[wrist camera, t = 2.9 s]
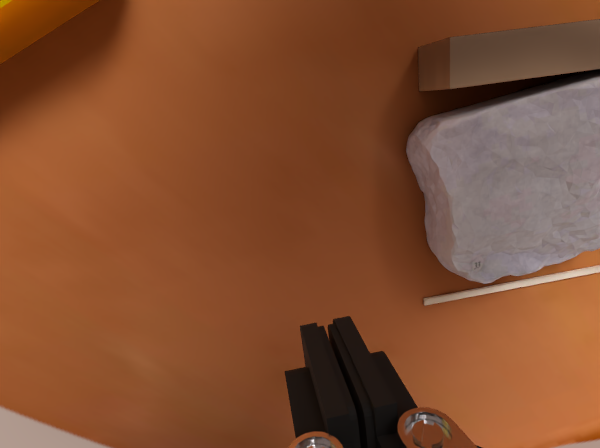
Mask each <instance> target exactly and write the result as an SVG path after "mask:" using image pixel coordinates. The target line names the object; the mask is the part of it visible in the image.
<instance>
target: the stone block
mask: <svg viewBox="0 0 600 448" xmlns="http://www.w3.org/2000/svg"><path fill="white" fill-rule="evenodd" d="M406 153H407V156H408V160H409V163H410V164H411V166H412V170H413V172H414V174H415V176H416V178H417V182H418V184H419V187H420V189H421V191H422V192H423V193H424V197H425V221H424V222H425V229H426V234H427V242H428V245H429V247H430V249H431V251H432V252H433V253H434V254H435V255H436V257H437V258H438V260H439V262H440V263H441V264H442V265H443V266H444V267H445V268H446V269H448V270H449V271H451V272H453V273H455V274H457V275H459V276H462V277H464V278H466V279H468V280H470V281H476V282H479V283H483V284H486V283H491V282H493V281H495V280H497V279H499V278H500V277H502V276H507V275H514V276H521V275H525V274H529V273H533V272H536V271H538V270H540V269H541V268H542V267H543V266H549V265H553V264H559V263H561V262H563V261H566V260H569V259H571V258H574V257H576V256H577V255H578V254H580V253H581V252H583V251H594V250H596V249H599V248H600V69H595V70H592V71H588V72H584V73H580V74H577V75H574V76H570V77H567V78H563V79H560V80H556V81H553V82H549V83H546V84H543V85H539V86H536V87H532V88H528V89H525V90H521V91H517V92H514V93H511V94H507V95H504V96H500V97H497V98H493V99H490V100H487V101H484V102H480V103H477V104H474V105H470V106H466V107H463V108H459V109H455V110H452V111H449V112H444V113H441V114H437V115H433V116H429V117H427V118H425V119H423V120H422V121H420V122H419V123H418V124H417V126H416V127H415V128H414V130H413V131H412V132H411V134H410V135H409V137H408V141H407V147H406Z"/></svg>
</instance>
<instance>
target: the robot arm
mask: <svg viewBox="0 0 600 448" xmlns="http://www.w3.org/2000/svg"><path fill="white" fill-rule="evenodd" d="M300 331H301V338H302V345H303V352H304V358H305V365H306V367H304V368H299V369H294V370H289V371H285V376H286V382H287V388H288V394H289V400H290V406H291V412H292V418H293V424H294V430H295V436H296V439H295V440H294V441H293V442H292V443H291V444H290V446H289V447H288V448H482V447H479V446H477V445H475V444H474V443H473V442H472V441H471V440H470V439H469V438H468V437H467V435H466V434H465V433H464V432H463V431H462V430H461V429H460V428H459V427H458V426H457V425H456V423H455V422H454V421H453V420H452V419H451V418H449V417H448V416H447V415H446V414H444V413H442V412H440V411H438V410H435V409H431V408H421V407H419V408H418V407H417V405H416V404H415V402H414V400H413V399H412V397H411V396H410V394H409V392H408V391H407V389H406V387H405V386H404V384H403V382H402V381H401V379H400V377H399V376H398V374H397V372H396V371H395V369H394V367H393V366H392V364H391V362H390V361H389V359H388V357H387V356H386V354H385V353H384V352H383V351H380V352H375V353H371V354H370V353H369V351H368V349H367V347H366V345H365V343H364V341H363V340H362V338H361V336H360V334H359V332H358V330H357V329H356V327H355V325H354V323H353V321H352V319H351V318H350V316H347V317H342V318H337V319H333V324H330V325H328V333H329V339H328V336H327V334H326V331H325V329H324V326H320V327H318V326H317V323H312V324H307V325H302V326H300Z"/></svg>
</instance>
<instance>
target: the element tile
mask: <svg viewBox="0 0 600 448" xmlns="http://www.w3.org/2000/svg"><path fill="white" fill-rule="evenodd" d="M98 1H99V0H0V64H1V63H3V62H5V61H6V60H8V59H9V58H11V57H12V56H14V55H15V54H17V53H19V52H20V51H22V50H23V49H25V48H26V47H28V46H29V45H31V44H33V43H34V42H36V41H37V40H39V39H40V38H42V37H43V36H45V35H47V34H48V33H50V32H51V31H53V30H54V29H56V28H57V27H59V26H61V25H62V24H64V23H65V22H67V21H68V20H70V19H71V18H73V17H75V16H76V15H78V14H79V13H81V12H82V11H84V10H85V9H87V8H89V7H90V6H92V5H93V4H95V3H96V2H98Z"/></svg>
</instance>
